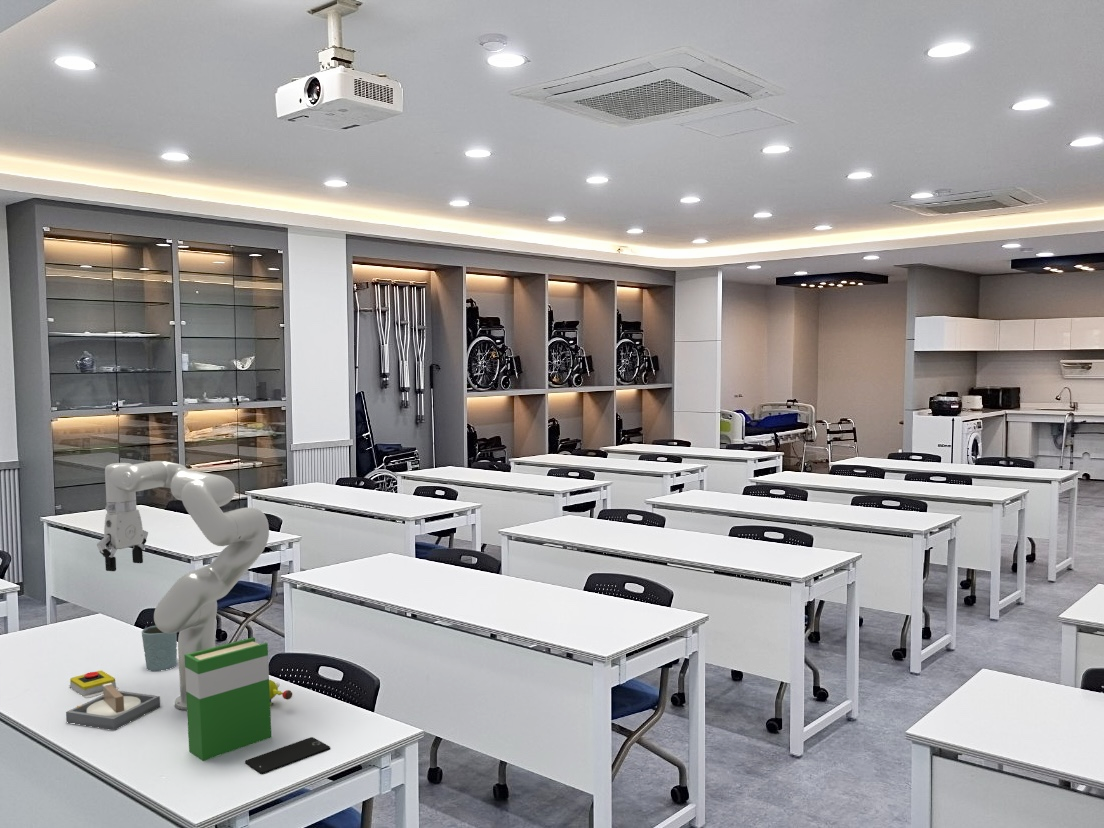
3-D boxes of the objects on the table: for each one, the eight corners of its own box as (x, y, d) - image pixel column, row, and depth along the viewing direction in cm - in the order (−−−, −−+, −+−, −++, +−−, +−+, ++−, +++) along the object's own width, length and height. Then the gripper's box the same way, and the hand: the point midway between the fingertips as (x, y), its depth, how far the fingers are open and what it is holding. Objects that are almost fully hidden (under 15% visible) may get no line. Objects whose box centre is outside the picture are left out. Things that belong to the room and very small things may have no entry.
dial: (147, 710, 240) (145, 690, 239) (94, 724, 231) (92, 703, 231) (132, 697, 250) (131, 677, 249) (81, 710, 241) (80, 689, 241)
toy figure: (299, 707, 243) (298, 682, 243) (284, 714, 239) (283, 689, 238) (254, 695, 252) (253, 671, 252) (238, 702, 248) (237, 678, 247)
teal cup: (162, 673, 272) (160, 635, 271) (135, 670, 275) (133, 632, 274) (186, 662, 281) (184, 625, 280) (160, 659, 284) (158, 622, 284)
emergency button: (99, 664, 269) (119, 676, 259) (100, 679, 270) (120, 691, 259) (66, 673, 263) (85, 685, 252) (67, 687, 263) (86, 700, 253)
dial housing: (160, 706, 245) (159, 695, 245) (113, 730, 230) (113, 718, 230) (114, 700, 251) (114, 689, 251) (66, 723, 236) (65, 711, 236)
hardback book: (257, 729, 229) (253, 637, 228) (271, 737, 224) (267, 643, 223) (189, 751, 217) (184, 654, 215) (202, 761, 212) (197, 661, 210)
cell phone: (331, 750, 217) (331, 746, 217) (261, 776, 204) (261, 772, 204) (312, 740, 223) (312, 736, 223) (243, 764, 210) (243, 760, 210)
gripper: (107, 512, 243) (110, 575, 245) (155, 502, 260) (158, 560, 261) (86, 511, 246) (89, 573, 247) (134, 501, 262) (137, 559, 263)
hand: (124, 566), depth 254 cm, fingers open, 9 cm apart
